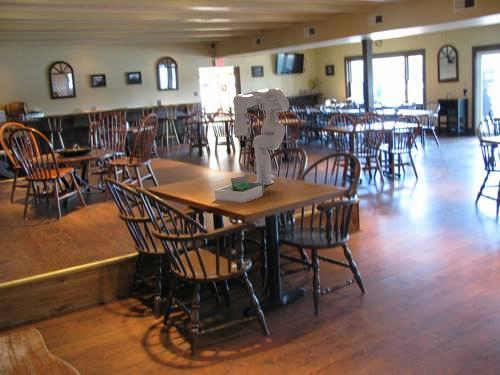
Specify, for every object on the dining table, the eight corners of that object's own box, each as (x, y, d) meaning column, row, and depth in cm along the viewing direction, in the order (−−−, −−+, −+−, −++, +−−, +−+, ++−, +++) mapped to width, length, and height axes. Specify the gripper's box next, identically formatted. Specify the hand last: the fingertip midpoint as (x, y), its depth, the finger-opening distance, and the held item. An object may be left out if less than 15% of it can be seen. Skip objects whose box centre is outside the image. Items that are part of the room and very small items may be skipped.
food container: (238, 196, 290) (237, 178, 288) (231, 195, 295) (230, 177, 293) (254, 192, 298) (253, 175, 296) (247, 191, 303) (246, 174, 301)
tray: (236, 190, 311) (235, 181, 309) (264, 193, 299) (263, 183, 298) (217, 197, 296) (217, 186, 295) (246, 199, 285) (245, 189, 283)
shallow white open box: (234, 193, 309) (234, 183, 308) (262, 196, 298) (261, 186, 297) (215, 200, 294) (214, 190, 293) (243, 203, 283) (243, 192, 282)
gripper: (254, 115, 305) (256, 146, 308) (234, 116, 313) (236, 146, 317) (247, 117, 299) (249, 148, 302) (227, 117, 307) (229, 147, 311)
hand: (242, 147), depth 310 cm, fingers closed
